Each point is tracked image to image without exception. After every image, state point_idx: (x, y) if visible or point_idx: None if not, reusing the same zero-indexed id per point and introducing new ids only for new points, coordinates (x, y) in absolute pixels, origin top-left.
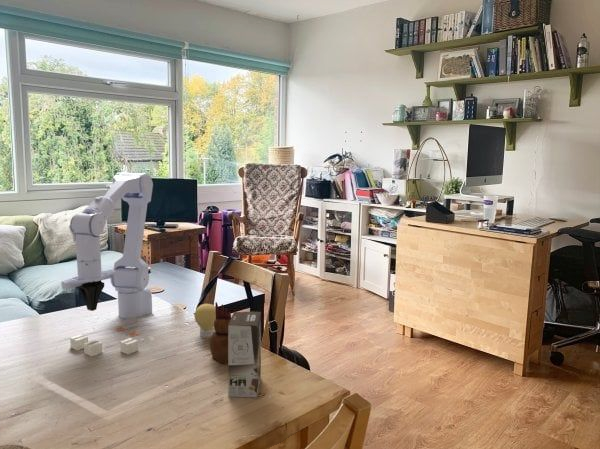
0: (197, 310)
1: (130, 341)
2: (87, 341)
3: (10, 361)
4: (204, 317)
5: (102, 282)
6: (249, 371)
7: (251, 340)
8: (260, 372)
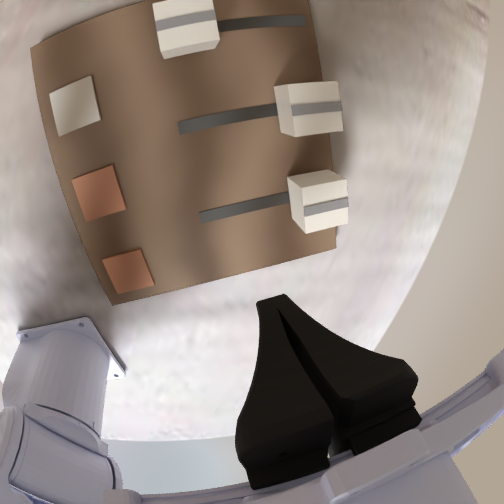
0: None
1: (182, 13)
2: (297, 182)
3: (426, 241)
4: None
5: (247, 461)
6: None
7: None
8: None
